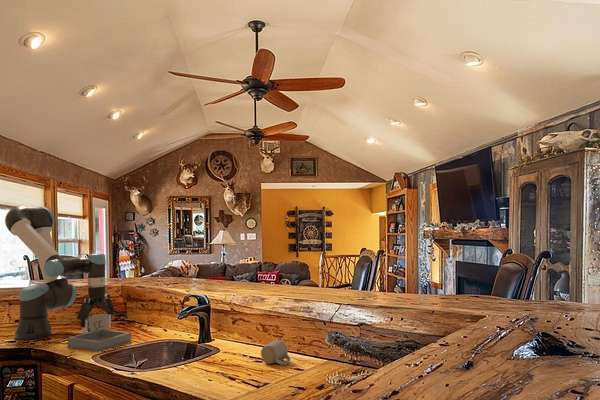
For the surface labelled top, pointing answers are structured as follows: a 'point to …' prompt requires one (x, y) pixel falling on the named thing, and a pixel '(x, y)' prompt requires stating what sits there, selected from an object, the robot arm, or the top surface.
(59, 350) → the top surface
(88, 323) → the electrical switch
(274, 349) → the ceramic mug
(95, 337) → the parts tray
